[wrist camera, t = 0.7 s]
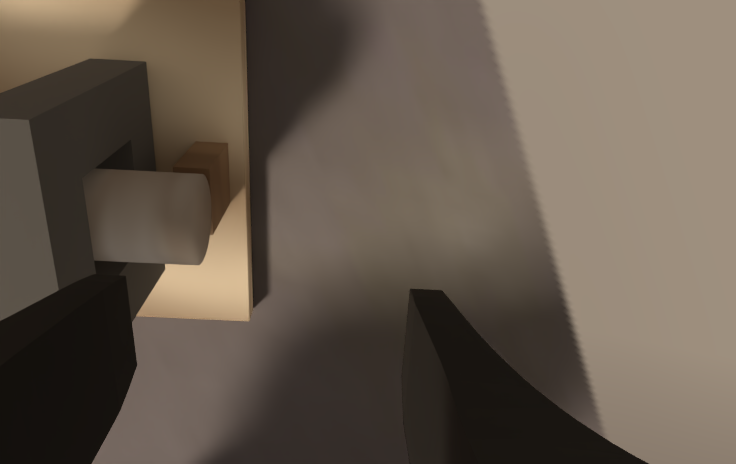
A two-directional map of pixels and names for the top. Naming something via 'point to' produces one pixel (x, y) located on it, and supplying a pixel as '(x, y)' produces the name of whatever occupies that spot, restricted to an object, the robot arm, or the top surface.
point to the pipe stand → (161, 140)
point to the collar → (68, 176)
